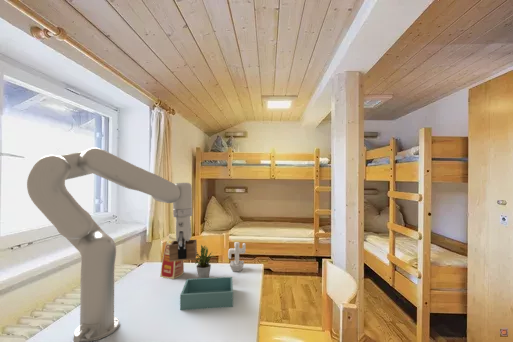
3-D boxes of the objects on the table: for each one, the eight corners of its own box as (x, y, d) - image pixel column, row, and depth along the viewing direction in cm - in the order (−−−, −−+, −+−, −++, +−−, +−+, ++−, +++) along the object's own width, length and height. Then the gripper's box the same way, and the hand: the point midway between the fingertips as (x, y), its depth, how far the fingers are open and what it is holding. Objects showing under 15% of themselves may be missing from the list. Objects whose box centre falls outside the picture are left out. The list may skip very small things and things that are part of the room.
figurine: (228, 267, 139) (228, 240, 140) (245, 267, 140) (245, 240, 140) (227, 272, 132) (227, 244, 133) (245, 272, 133) (245, 243, 133)
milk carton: (160, 277, 126) (160, 237, 127) (171, 270, 135) (171, 233, 135) (175, 279, 123) (175, 238, 124) (186, 272, 132) (186, 234, 133)
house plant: (185, 274, 129) (185, 243, 130) (211, 270, 135) (211, 240, 136) (191, 285, 116) (191, 250, 117) (219, 279, 123) (219, 246, 123)
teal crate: (232, 307, 97) (232, 292, 97) (180, 310, 95) (180, 294, 95) (232, 290, 112) (232, 276, 112) (186, 292, 110) (186, 278, 110)
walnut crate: (195, 259, 101) (194, 243, 101) (169, 261, 99) (169, 245, 99) (196, 254, 107) (196, 239, 107) (172, 256, 106) (172, 240, 106)
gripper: (189, 215, 95) (190, 262, 95) (194, 209, 113) (195, 248, 112) (169, 216, 94) (170, 263, 94) (177, 209, 112) (178, 250, 111)
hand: (183, 255), depth 103 cm, fingers closed on walnut crate, 6 cm apart
